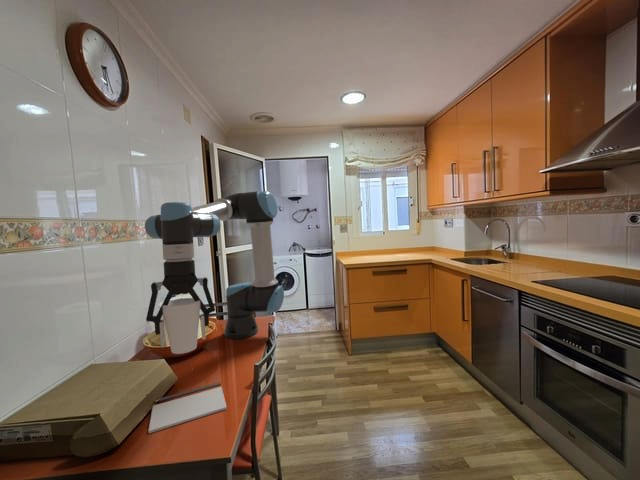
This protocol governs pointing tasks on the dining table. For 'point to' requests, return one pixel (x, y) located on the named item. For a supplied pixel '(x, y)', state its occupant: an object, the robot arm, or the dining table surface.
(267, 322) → the dining table surface
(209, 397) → the mat
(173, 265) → the robot arm
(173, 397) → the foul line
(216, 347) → the dining table surface
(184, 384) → the dining table surface
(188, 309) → the foam cup
